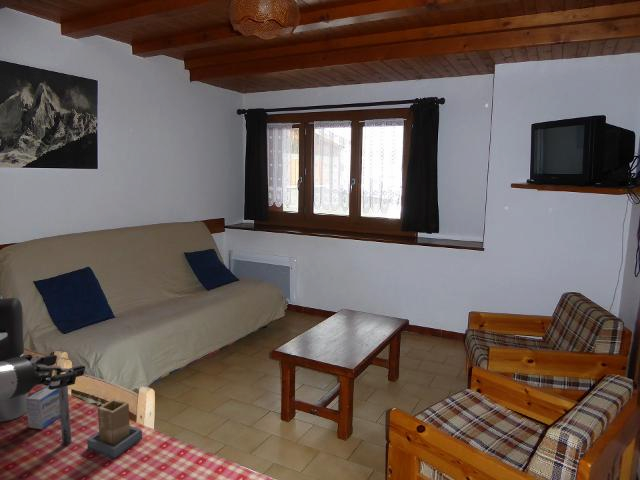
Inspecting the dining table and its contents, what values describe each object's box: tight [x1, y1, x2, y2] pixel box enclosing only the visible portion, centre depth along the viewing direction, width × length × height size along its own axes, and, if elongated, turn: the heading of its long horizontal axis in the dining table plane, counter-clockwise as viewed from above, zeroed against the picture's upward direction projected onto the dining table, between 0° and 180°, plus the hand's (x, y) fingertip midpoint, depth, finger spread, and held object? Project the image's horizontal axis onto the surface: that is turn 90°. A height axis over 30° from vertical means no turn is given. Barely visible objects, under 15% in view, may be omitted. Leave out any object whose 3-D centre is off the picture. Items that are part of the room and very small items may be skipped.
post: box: [58, 386, 72, 446], centre depth 114 cm, size 2×2×16 cm
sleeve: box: [97, 398, 131, 447], centre depth 114 cm, size 5×5×10 cm
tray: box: [86, 425, 143, 460], centre depth 115 cm, size 9×9×2 cm
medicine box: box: [26, 384, 60, 430], centre depth 123 cm, size 8×4×9 cm, turn 168°
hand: (69, 364), depth 104 cm, fingers open, 8 cm apart
